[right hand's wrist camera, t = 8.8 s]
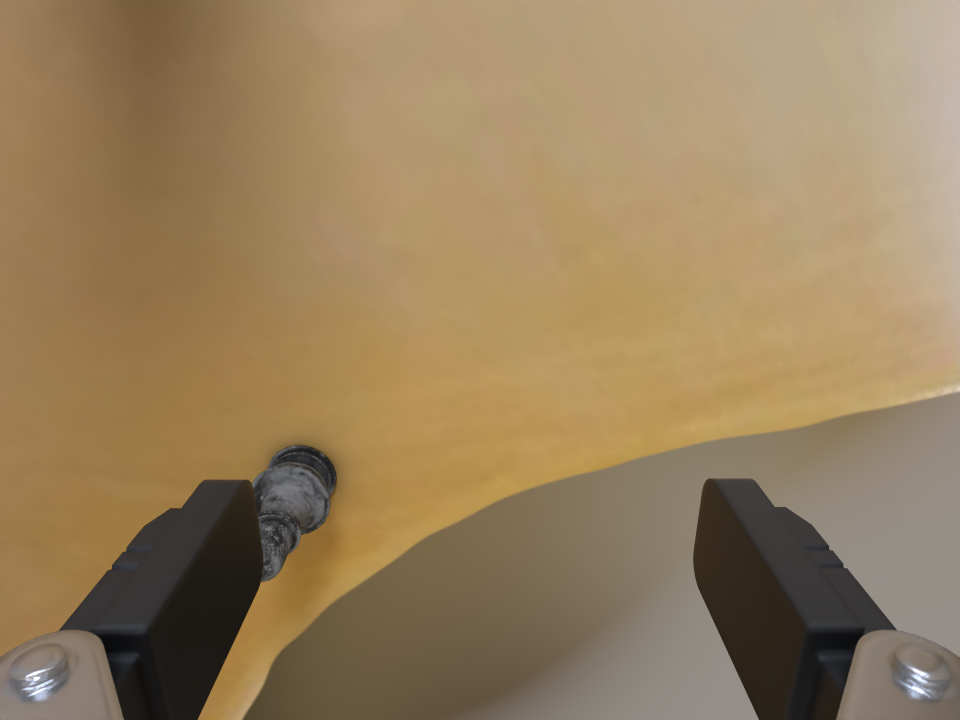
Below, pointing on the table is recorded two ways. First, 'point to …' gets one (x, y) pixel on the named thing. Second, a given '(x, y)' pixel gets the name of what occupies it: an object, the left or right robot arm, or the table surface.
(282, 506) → the grey stone chess piece
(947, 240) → the table surface
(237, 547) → the right robot arm
